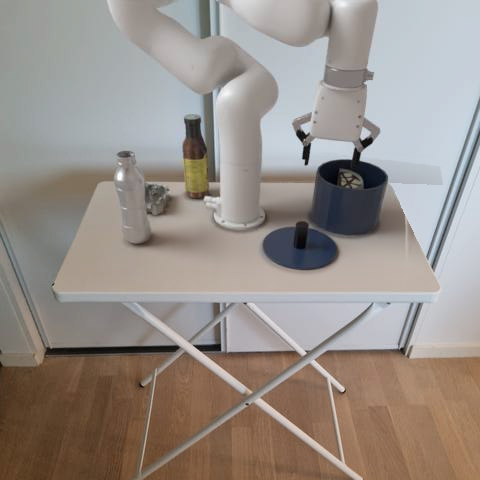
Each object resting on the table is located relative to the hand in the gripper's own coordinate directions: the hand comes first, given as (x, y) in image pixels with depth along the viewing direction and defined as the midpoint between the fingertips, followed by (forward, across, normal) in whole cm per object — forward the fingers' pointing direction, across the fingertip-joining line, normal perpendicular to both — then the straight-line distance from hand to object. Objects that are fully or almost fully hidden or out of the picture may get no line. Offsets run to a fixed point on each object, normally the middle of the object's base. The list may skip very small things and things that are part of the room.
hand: (329, 165), depth 97 cm
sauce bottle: (+18, +33, -14) cm, 40 cm away
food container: (+17, -6, -9) cm, 20 cm away
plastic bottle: (+18, +40, +11) cm, 46 cm away
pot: (+17, -6, -9) cm, 21 cm away
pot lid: (+17, +4, +7) cm, 18 cm away
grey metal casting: (+18, +43, -5) cm, 47 cm away
